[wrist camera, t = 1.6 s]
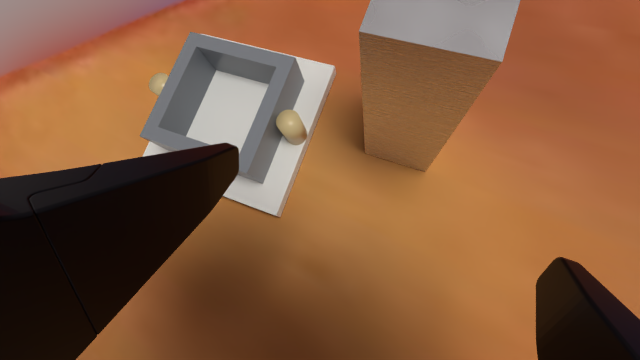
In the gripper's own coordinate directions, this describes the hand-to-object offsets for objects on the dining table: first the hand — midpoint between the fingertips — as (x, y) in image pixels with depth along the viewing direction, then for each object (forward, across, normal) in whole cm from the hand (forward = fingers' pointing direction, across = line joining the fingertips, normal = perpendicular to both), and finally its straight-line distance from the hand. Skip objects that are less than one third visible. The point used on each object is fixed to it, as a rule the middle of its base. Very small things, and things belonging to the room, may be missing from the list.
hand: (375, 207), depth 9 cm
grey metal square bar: (+14, 0, +4) cm, 15 cm away
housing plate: (+13, +13, +6) cm, 19 cm away
